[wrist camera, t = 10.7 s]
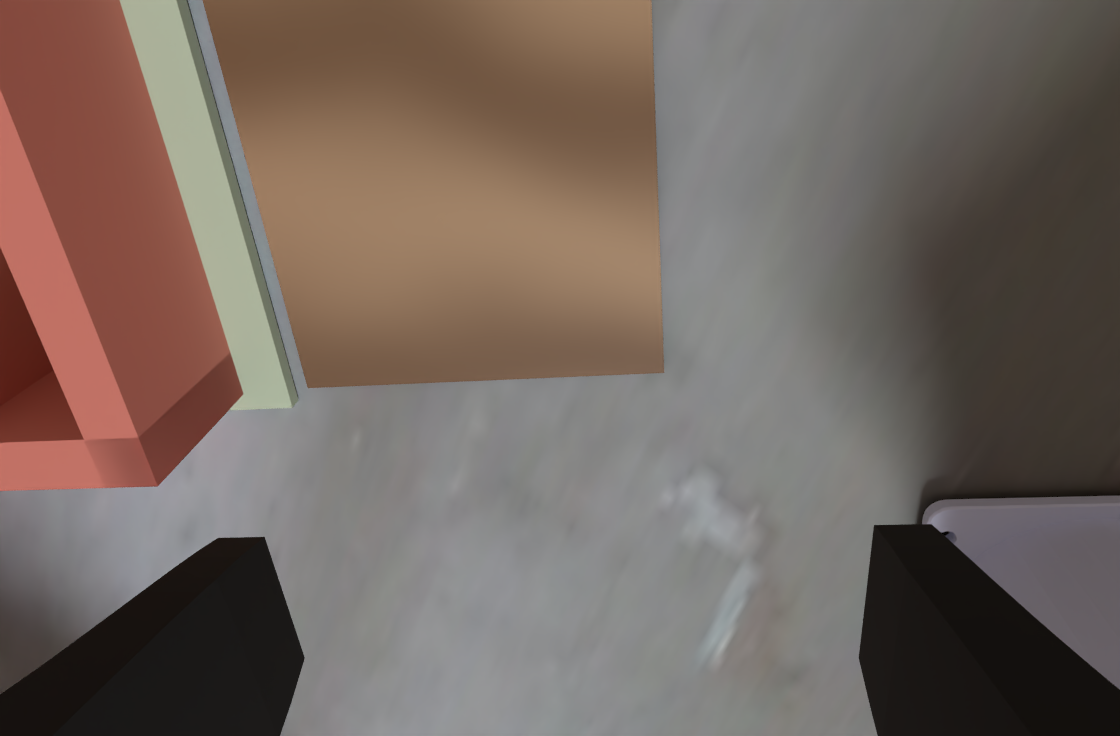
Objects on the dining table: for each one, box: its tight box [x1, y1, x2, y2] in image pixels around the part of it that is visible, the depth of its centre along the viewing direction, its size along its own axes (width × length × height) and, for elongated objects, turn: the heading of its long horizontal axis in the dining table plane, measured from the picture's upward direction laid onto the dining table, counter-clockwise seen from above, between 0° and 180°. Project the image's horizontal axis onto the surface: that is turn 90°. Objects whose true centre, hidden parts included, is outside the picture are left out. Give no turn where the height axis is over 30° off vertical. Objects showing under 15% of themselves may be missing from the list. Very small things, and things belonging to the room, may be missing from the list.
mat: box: [120, 0, 298, 410], centre depth 18 cm, size 11×8×1 cm
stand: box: [203, 0, 664, 388], centre depth 14 cm, size 14×9×5 cm, turn 5°
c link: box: [0, 0, 243, 491], centre depth 16 cm, size 10×6×4 cm, turn 5°
